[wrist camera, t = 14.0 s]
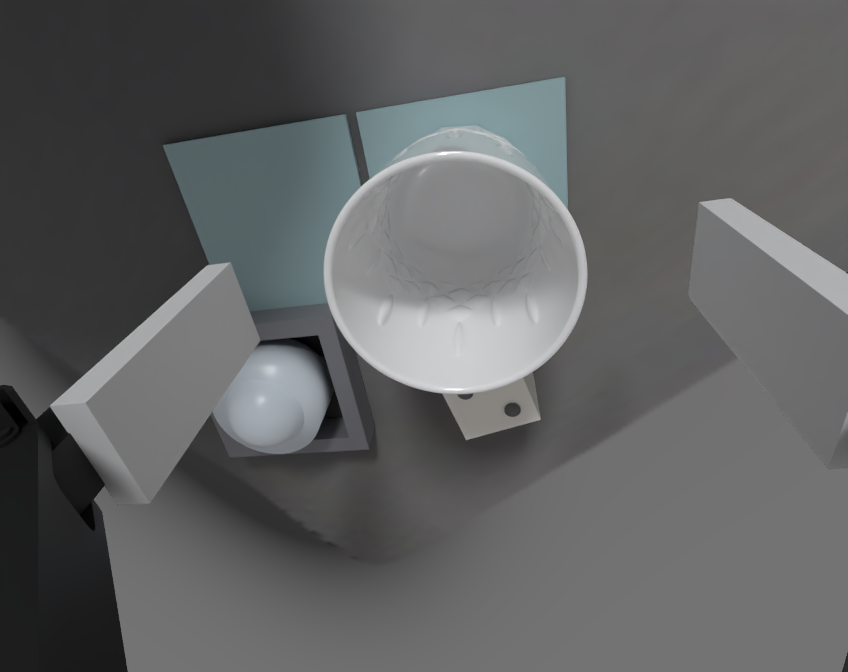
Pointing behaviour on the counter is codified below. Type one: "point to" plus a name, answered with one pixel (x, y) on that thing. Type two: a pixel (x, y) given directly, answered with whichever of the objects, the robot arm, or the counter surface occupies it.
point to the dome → (277, 398)
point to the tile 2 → (490, 109)
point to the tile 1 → (269, 203)
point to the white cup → (456, 265)
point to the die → (495, 408)
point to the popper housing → (344, 373)
